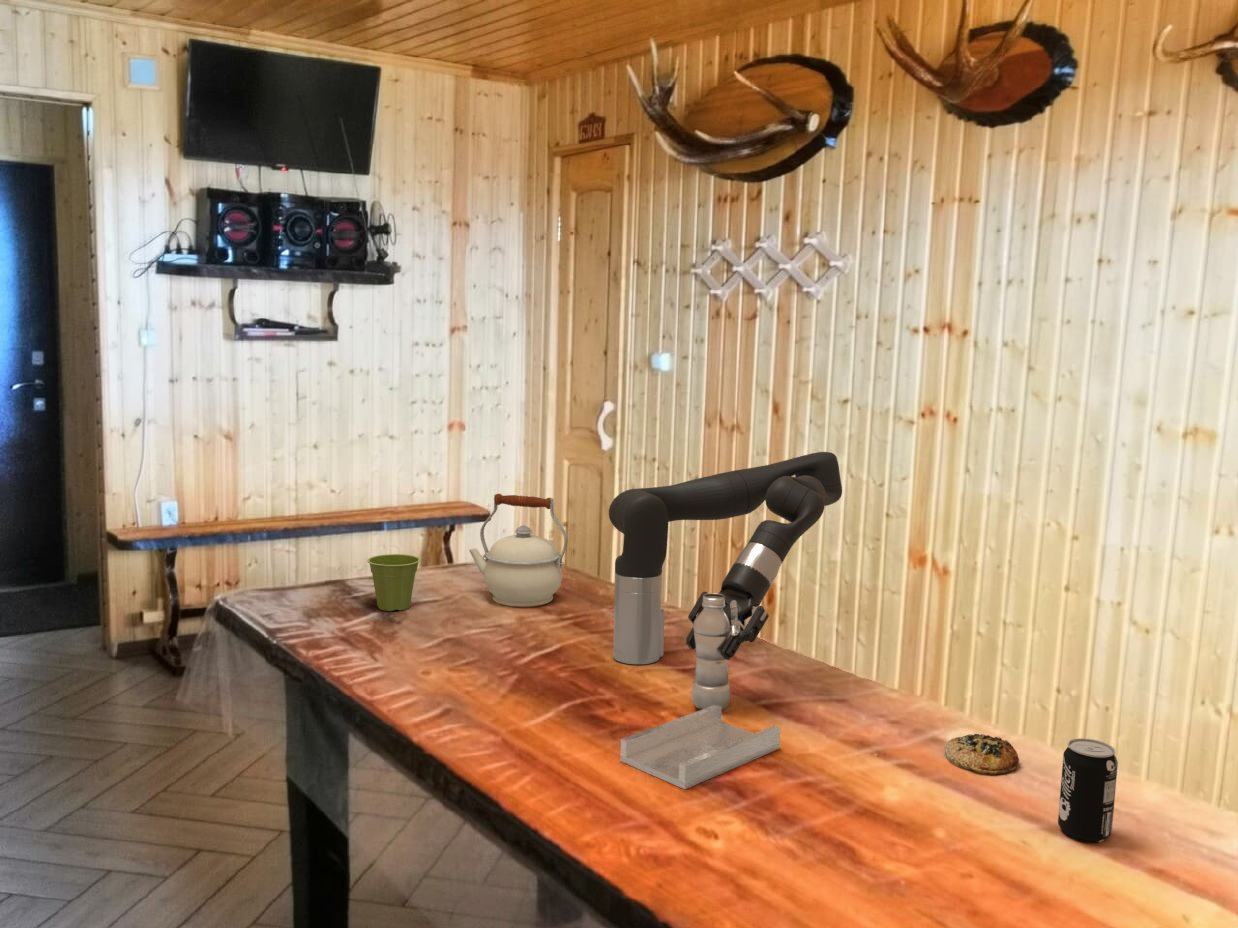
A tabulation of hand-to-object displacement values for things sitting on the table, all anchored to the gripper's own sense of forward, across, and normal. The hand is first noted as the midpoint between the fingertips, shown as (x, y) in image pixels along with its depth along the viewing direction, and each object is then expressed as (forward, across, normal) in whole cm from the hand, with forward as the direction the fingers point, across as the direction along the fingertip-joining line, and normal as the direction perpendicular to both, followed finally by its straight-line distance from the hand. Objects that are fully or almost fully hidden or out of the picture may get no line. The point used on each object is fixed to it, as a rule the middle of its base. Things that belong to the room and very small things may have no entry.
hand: (706, 651), depth 183 cm
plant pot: (+11, +90, -4) cm, 91 cm away
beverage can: (+4, -63, -11) cm, 64 cm away
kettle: (-8, +78, -23) cm, 82 cm away
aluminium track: (+18, -12, +3) cm, 22 cm away
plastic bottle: (+6, 0, -9) cm, 11 cm away
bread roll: (-4, -42, -19) cm, 47 cm away
